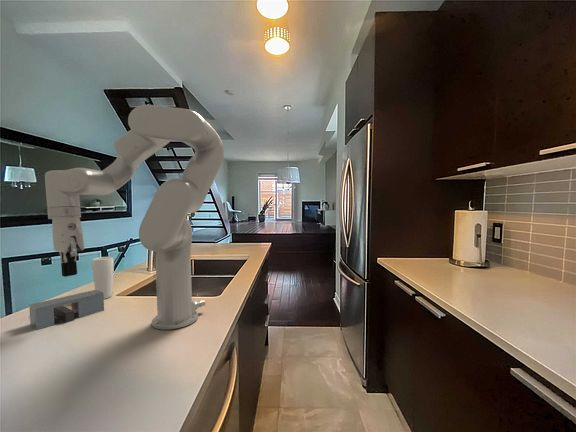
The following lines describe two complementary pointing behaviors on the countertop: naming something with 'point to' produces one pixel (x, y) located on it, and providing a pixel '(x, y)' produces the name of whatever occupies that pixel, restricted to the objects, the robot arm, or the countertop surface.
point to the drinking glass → (103, 275)
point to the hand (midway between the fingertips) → (69, 275)
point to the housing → (79, 302)
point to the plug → (64, 313)
